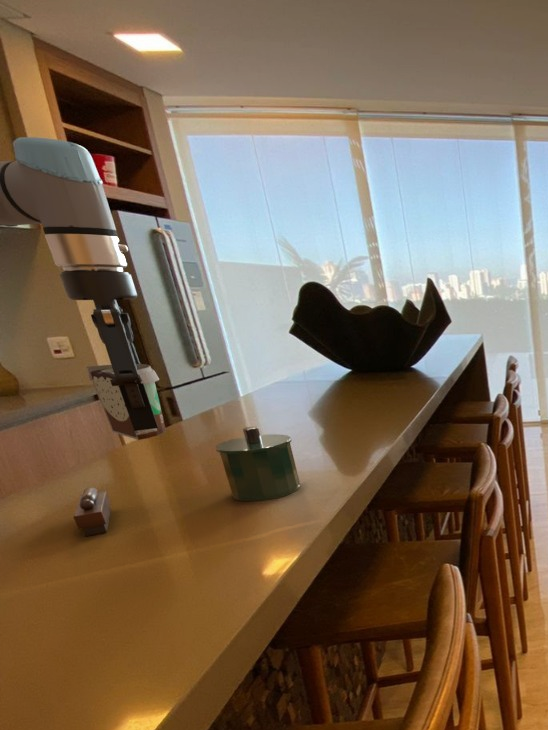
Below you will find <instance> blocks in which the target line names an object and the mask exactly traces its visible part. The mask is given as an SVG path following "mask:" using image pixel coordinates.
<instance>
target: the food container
mask: <svg viewBox="0 0 548 730" xmlns="http://www.w3.org/2000/svg"><path fill="white" fill-rule="evenodd" d="M136 366H137V370H138V373H139V374H140V377H141V379H142V382H141V383H143V384H144V387H145V390H146V393H147V396H148V399H149V402H150V405H151V408H152V411H153V414H154V417H155V420H156V422H157V425H158V428H155V429H147V430H139V431H134V428H133V425H132V423H131V420H130V417H129V414H128V411H127V408H126V406H125V403H124V400H123V397H122V394H121V391H120V389H119V386H112V384H111V382H110V380H113V379H115V378H114V376H115V375H114V371H113V368H112V365H111V364H103V365H102V364H101V365H87V366H86V370H87V374H88V377H89V380H90V381H92V384H93V386H94V389H95V393H96V394H97V396H98V399H99V402H100V404H101V406H102V409H103V411H104V414H105V417H106V419H107V421H108V425H109V427H110V429H111V431H112V433H114V434H117V435H121V436H124V437H128V438H130V439H133V440H136V441H141V440H146V439H150V438H154V437H157V436H161V435H163V434H164V433H166V432H167V430H166V425H165V420H164V416H163V412H162V408H161V403H160V398H159V395H158V391H157V386H156V382H158V381H160V378H159V376H158V373H156V371H155V370H154V369H153V368H152V366H151V365H150V364H142V363H141V364H136Z"/></svg>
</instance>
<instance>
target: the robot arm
mask: <svg viewBox="0 0 548 730" xmlns="http://www.w3.org/2000/svg"><path fill="white" fill-rule="evenodd" d="M12 147H13V151H14V158H15V160H4V161H3V160H2V161H1V160H0V227H7V228H12V227H18V226H27V225H41V226H42V230H43V234H44V237H45V240H46V244H47V245H48V249H49V251H50V254H51V256H52V259H53V262H54V264H55V266H57V267H58V268H62V270H63V271H60V273H59V277H60V279H61V282H62V285H63V288H64V290H65V293H66V296H67V298H68V299H70V300H71V301H93V304H94V307H95V308H93V309H92V310H93V313H92V314H90V317H91V321H92V323H93V325H94V327H95V328H96V329H97V333H98V336H99V339H100V342H102V344H104V346H105V350H106V352H107V355H108V359H109V362H110V365H112V368H113V371H114V375H115V376H114V378H115V379H113V380H110V382H111V384H112V386H119V389H120V391H121V394H122V397H123V400H124V403H125V406H126V408H127V411H128V414H129V417H130V420H131V423H132V425H133V428H134V431H139V430H147V429H155V428H158V425H157V422H156V420H155V417H154V414H153V411H152V408H151V405H150V402H149V399H148V396H147V393H146V390H145V387H144V384H143V383H141V382H142V379H141V377H140V374H139V373H138V370H137V366H136V364H142V362H140V359H139V357H138V353H137V351H136V347H135V345H134V343H133V342H134V339H135V337H134V333H133V329H132V327H131V326H132V322H131V319H130V316H129V313H128V312H124V311H123V308H122V307H121V306H119V303H118V302H117V300H135V299H137V298H138V291H137V289H136V286H135V283H134V280H133V277H132V274H130V273H129V272H128V271H124V269H125V268H127V267H128V263H127V260H126V257H125V255H124V254H123V253H128V252H129V248H128V246H127V245H126V244H119V243H120V239H119V235H118V232H117V228H116V225H115V221H114V218H113V215H112V212H111V209H110V206H109V202H108V199H107V196H106V193H105V189H104V186H103V184H104V182H103V179H101V177H100V175H99V172H98V169H97V167H96V163H95V161H94V159H93V157H92V155H91V153H90V151H88V149H86V148H85V147H84V146H82V145H79V144H77V143H74V142H71V141H66V140H62V139H57V138H56V139H55V138H47V137H46V138H45V137H37V136H35V137H34V136H33V137H32V136H26V137H25V136H24V137H17V138H16V139H15V140H13V142H12Z"/></svg>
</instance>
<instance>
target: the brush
mask: <svg viewBox="0 0 548 730" xmlns="http://www.w3.org/2000/svg"><path fill="white" fill-rule="evenodd" d="M77 502H78V503H77V506H76V508H75V511H74V515H73V519H74V521H75V523H76V526H77V529H78V530H81V529H82V532H83V534H84V537H90V536H95V535H101V534H106V533H108V528H109V524H110V517H111V512H112V509H111V508H110V505H111V500H110V497H109V495H108V493H107V490H102V491H98V489H96V488H95V487H92V486H91V487H90V486H89V487H86V488H85V489H84V490H83V492H82V494H80V497H79V500H78V501H77Z"/></svg>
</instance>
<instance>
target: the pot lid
mask: <svg viewBox="0 0 548 730" xmlns="http://www.w3.org/2000/svg"><path fill="white" fill-rule="evenodd" d="M242 432H243V437H238V438H233V439H229V440H225V441H222V442H220V443H217V445H215V451H216V453H219V454H220V453H226V454H241V453H252V452H260V451H265V450H270V449H275V448H278V447H282V446H284V445H287V444H289V443H290V444H291V443H292V437H291V436H289V435H286V434H277V433H276V434H274V433H273V434H272V433H270V434H261V433H260V430H259V426H247V427H243V428H242Z"/></svg>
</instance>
